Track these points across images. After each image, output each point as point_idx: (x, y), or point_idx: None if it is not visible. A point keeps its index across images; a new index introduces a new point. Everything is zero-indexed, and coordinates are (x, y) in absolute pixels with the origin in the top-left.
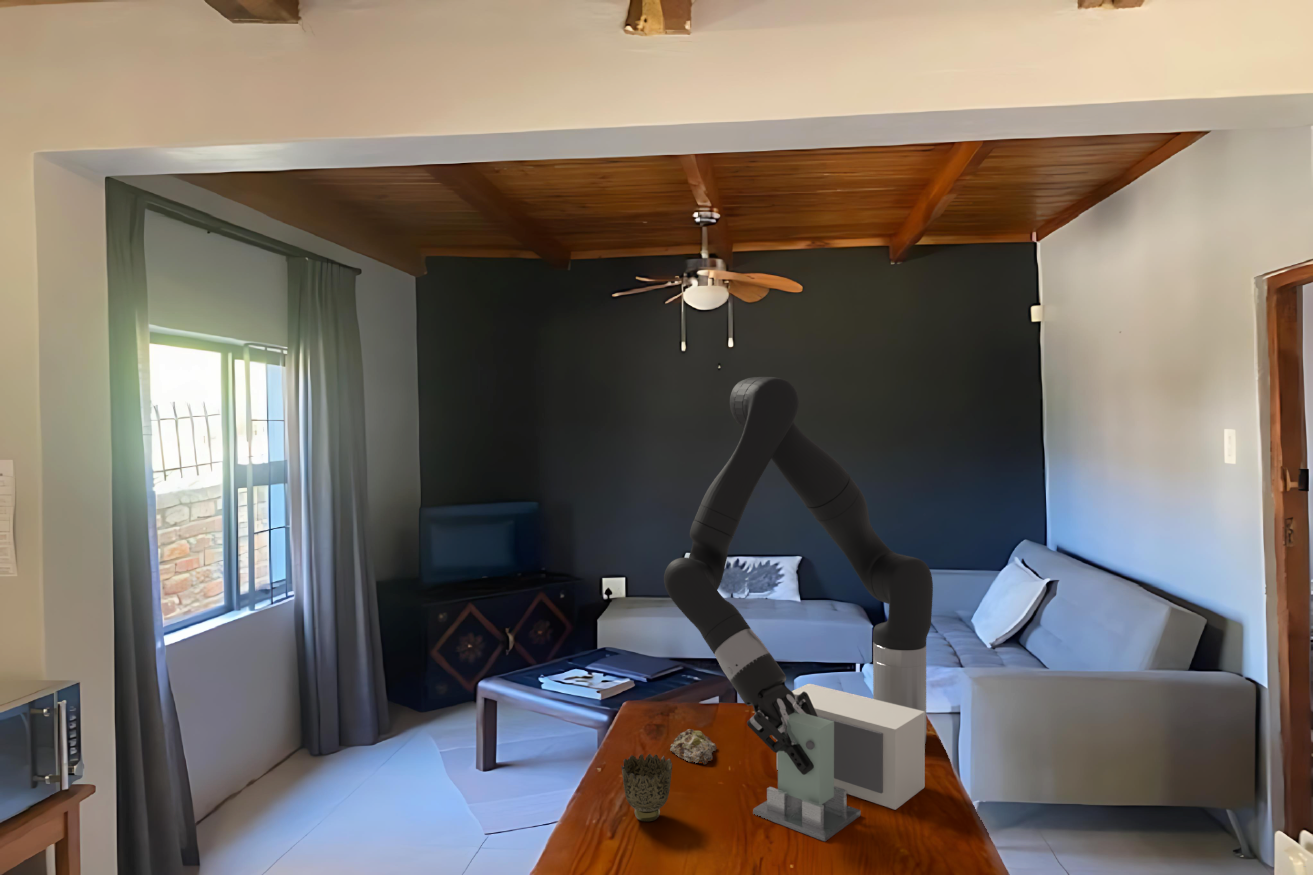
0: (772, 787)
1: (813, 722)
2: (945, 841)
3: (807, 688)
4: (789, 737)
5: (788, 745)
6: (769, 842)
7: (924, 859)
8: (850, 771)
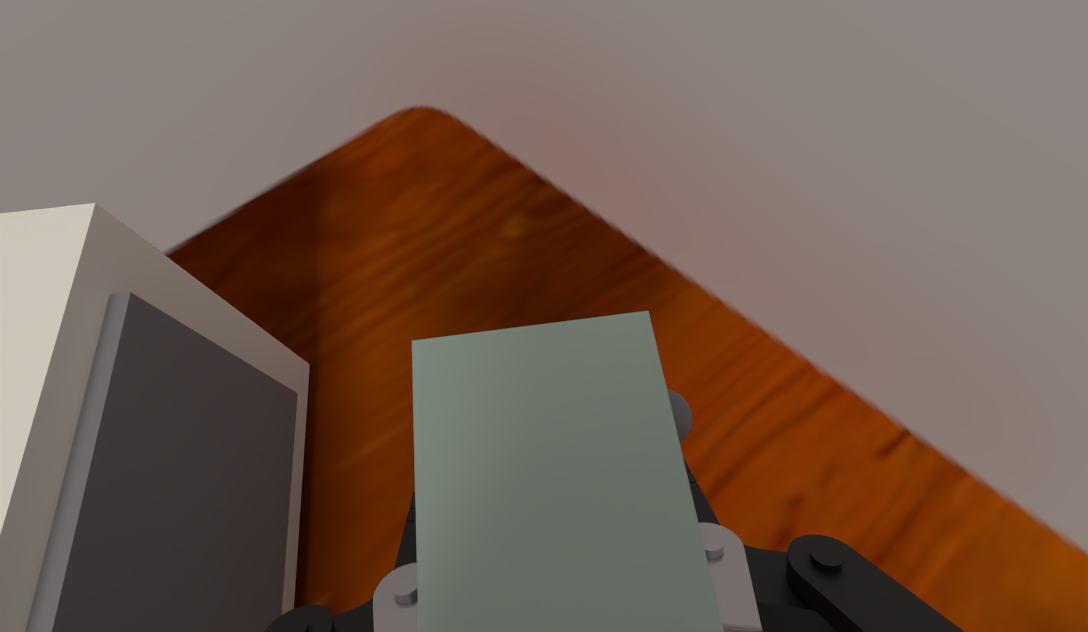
0: None
1: (570, 441)
2: (395, 191)
3: None
4: (749, 575)
5: (761, 554)
6: (801, 504)
7: (513, 180)
8: (259, 528)
